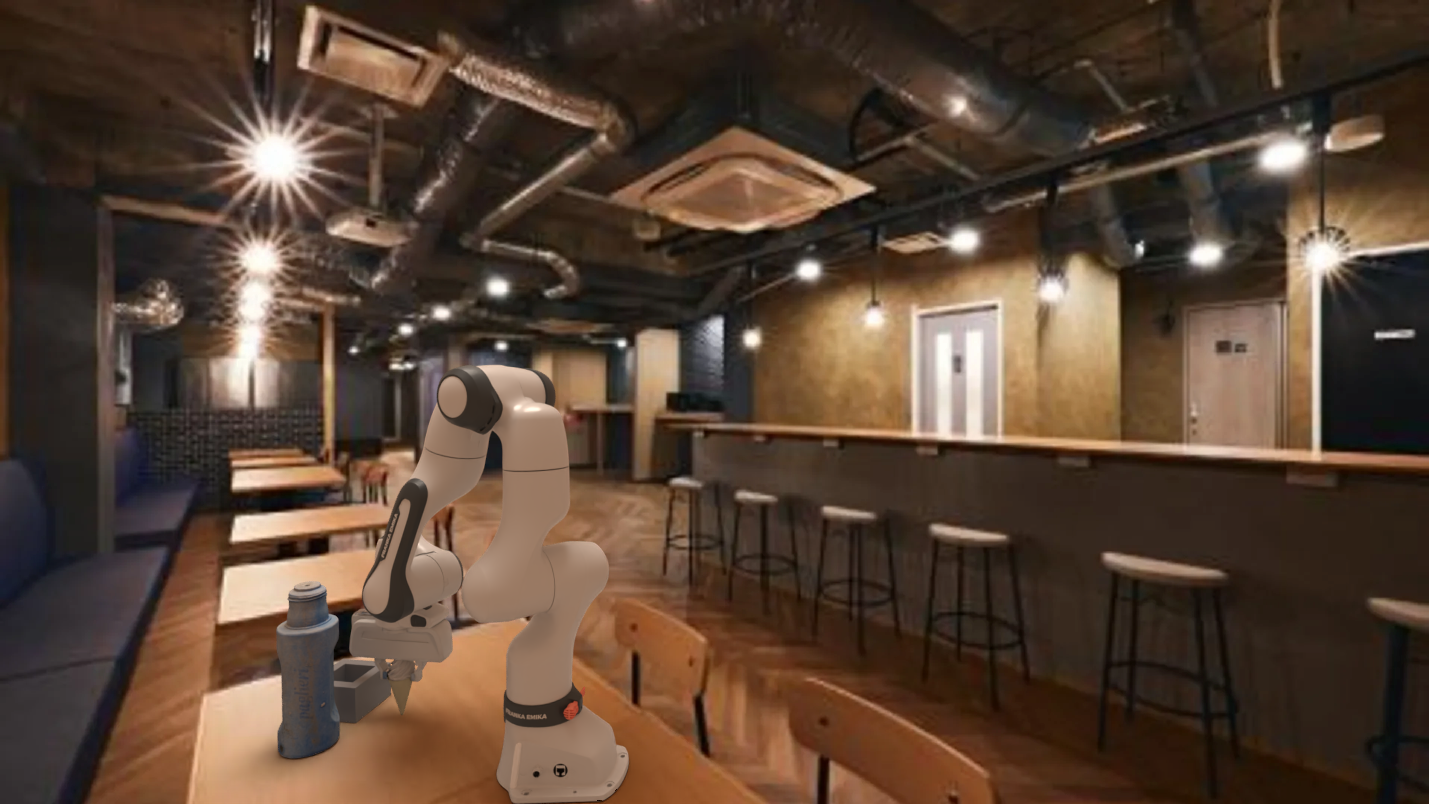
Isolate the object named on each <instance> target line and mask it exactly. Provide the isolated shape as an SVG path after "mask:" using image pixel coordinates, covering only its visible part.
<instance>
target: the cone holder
mask: <svg viewBox="0 0 1429 804" xmlns="http://www.w3.org/2000/svg"><path fill="white" fill-rule="evenodd" d="M386 662H387V664H388V666H389V667H390V666H391V665H392V664H390V663H391V662H392V661H391V662H389V661H386ZM391 695H392V689H391V686H390V683H389V680H386V679H381V678H380V671H379V669H378V668H377V666H376V665H375V662H374V660H364V659H350V658H348V659H347V658H342V659H341V660H339V661H338V662H336V663H334V700H335V704H336V707H337V710H338V713H339V717H340V723H350V724H351V723H352V724H357V723H358V722H359V721H360V720H362V719H363V718H364V717H366V715H368V714H369V713H370V712H371V711H373V710H374V709H375V708H377V707H378V706H379V705H380V704H381V703H383V702H384V701H385V700H386V699H388V698H389V697H390V696H391Z"/></svg>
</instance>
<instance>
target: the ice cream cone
mask: <svg viewBox="0 0 1429 804" xmlns="http://www.w3.org/2000/svg"><path fill="white" fill-rule="evenodd" d="M392 660H393V661H391V663H390V664H391V666H390V667H389V668H388V669H389V670H391V671H390V672H389V673H388V677H387V679H388V680H389V683H390V686H391V692H392V694H393V696H394V700H395V702H396V705H397V708H398V711H399V714H400V715H401V716H403V715H404V714H405V710H406V706H407V703H408V699H409V696H410V692H411V689H412V684H413V681H411V680H410V679H411V677H410V673H412V672H414V670H416V665H415V661H408V660H394V659H392Z"/></svg>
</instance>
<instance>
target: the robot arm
mask: <svg viewBox="0 0 1429 804" xmlns="http://www.w3.org/2000/svg"><path fill="white" fill-rule="evenodd" d="M556 397H557V396H556V389H555V385H554V383H553V382H552V380H551V379H550V377H549V376H548V375H547V374H545V373H544V372H542V371H540V370H537V369H533V368H529V367H523V368H520V367H513V366H506V365H501V364H487V365H485V364H484V365H473V364H468V365H462V366H458V367H454V368H452V369H449V370H448V371H446V372H445V373H444V374H443V375H442V377H441V378H440V380H439V382H438V385H437V390H436V404H435V406H434V408H433V411H432V414H431V416H430V418H429V423H428V426H427V429H426V434H425V438H424V443H423V448H422V451H421V455H420V457H419V461H418V463H417V465H416V467H415V469H414V471H413V472H412V473H411V476H410V478H408V480H407V481H406V482H405V483H404V484H403V485H402V487H401V488H400V490H399V492H398V494H397V496H396V499H395V500H394V505H393V507H392V509H391V513H390V515H389V518H388V522H387V525H386V528H385V530H384V533H383V535H382V536H381V537H380V538H378V540H377V543H376V547H375V551H374V563H373V564H372V567H371V569H370V570H369V572H368V574H367V576H366V578H365V580H364V582H363V586H362V590H361V591H362V592H361V601H362V605H363V607H364V608H360V609H358V610H356V611H354V612H353V614H352V615H351V632H350V637H349V648H348V649H349V653H350V655H351V656H352V657H354V658H367V659H368V658H369V659H374V660H373V661H374V662H375V665H376V666H377V668H378V669H379V671H380V678H381V679H386V680H388V679H387V677H388V673H389V672H390V671H391V670H389V669H388V668H389V666H388V664H387V662H388V661H387V660H408V661H414V662H415V667H417V668H415V670H414V672H412V673H410V677H411V679H410V680H411V681H412V683H419V682H420V681H421V680H422V679H423V670H424V669H425V666H426V665H427V663H437V664H438V663H442V662H444V661H445V660H447V658H449V657H450V656H451V654H452V653H453V650H454V649H453V631H452V625H451V624H450V622H449V621H448V619H447V617H448V616H449V612H450V611H449V610H450V609H449V607H448V606H447V605H445V604H443V603H440V602H441V601H444V600H446V599H448V598H450V597H452V596H453V595H455V594H457V593H458V592H459V590H460V589H461V591H460V592H461V601H462V604H463V607H464V609H465V610H466V613H467V614H468V615H469V616H470V617H471V618H472V619H473V620H475V621H476V622H478V623H479V624H493V623H507V622H512V621H517V620H519V619H520V620H521V619H524V618H527V617H531V616H532V617H531V618H530V620H529V622H528V623H527V625H525V626H524V628H523V629H522V630H521V631H519V632H518V633H517V634H516V635H515V636H514V637H513V638H512V640H511V641H510V643H509V644H508V647H507V650H506V655H505V660H506V662H505V663H506V664H505V665H506V666H505V673H506V674H505V675H506V676H505V677H506V681H505V684H506V685H505V690H504V693H503V704H502V705H503V707H502V709H503V710H502V711H503V722H504V724H505V725H504V736H503V744H502V748H501V749H502V750H501V755H500V759H499V763H498V766H497V770H496V779H497V781H498V783H499V784H500V786H502V788H504V789H505V790H506V791H507V792H508V795H509V799H510V801H511V803H513V804H542V803H543V804H544V803H546V804H549V803H576V802H577V803H578V802H582V803H583V802H598V801H597V800H602V801H605V800H606V799H608V798H609V797H611V796H612V795H613V794H614V793H615V792H616V791H617V790H618V789H619V788H620V786H621V785H622V783H623V781H624V780H625V777H626V775H627V772H628V771H629V770H628V769H629V763H630V760H629V752H628V750H627V748H626V747H625V746H623V745H619V744H617V743H616V737H615V733H614V730H613V727H612V725H611V724H610V723H608V722H607V721H606V720H604V719H603V718H601V717H600V716H599V715H597V714H596V713H594V712H593V711H592V710H590V708H588V707H587V706H586V705H584V704H583V703H584V702H583V699H584V697H585V695H586V687H585V686H583V687H582V689H581V690H579V689H577V687H576V686H575V684H574V682H573V658H574V657H573V656H574V646H575V640H576V636H577V632H578V630H579V628H580V625H581V623H582V620H583V618H584V616H585V615H586V612H587V611H588V609H589V607H590V605H591V604H593V601H594V600H595V599H596V598H597V597H598V596H599V594H600V593H602V592H603V590H605V588H606V585H607V583H608V581H609V575H610V574H609V573H610V565H609V560H608V557H607V556H606V554H605V551H603V549H602V547H600V546H599V545H598V544H597V543H596V542H594V541H585V540H584V541H583V540H578V541H576V540H569V541H562V542H557V543H553V544H547V545H543V544H544V541H545V539H546V537H547V535H548V534H549V532H550V531H551V530H552V529H553V528H554V527H555V526H557V525H558V524H559V523H560V522H562V521H563V520H564V518H566V516H567V514H568V512H569V511H570V507H571V489H570V487H571V486H570V485H571V484H570V483H571V482H570V481H571V480H570V479H571V478H570V460H569V459H570V458H569V455H570V454H569V446H568V439H567V433H566V432H567V431H566V428H565V422H564V419H563V416H562V414H561V412H560V411H559V410H558V409H557V408H556V407H555V404H556ZM492 432H494V433H495V434H496V435H497V436H498V438H499V440H500V442H501V448H502V503H501V504H502V505H501V515H500V520H499V524H498V526H497V530H496V532H495V534H494V536H493V538H492V540H491V542H490V544H489V545H488V546H487V548H486V550H485V551H484V553H483V554H482V555H481V556H480V557H479V558H478V559H477V560H476V561H475V562H474V563H473V564H471V565H470V567H469V569H467V571H466V573H465V574H464V568H463V564H462V562H461V559H460V558H459V557H458V555H456V554H455V553H454V552H452V551H451V550H450V549H449V550H448V549H442V548H440V547H438V546H435V545H434V544H432V543H431V542H429V541H428V540H427V539H425V537H424V536H423V534H422V533H423V531H424V529H425V527H426V525H427V524H428V523H429V521H430V520H431V519H432V518H433V517H434V516H435V515H436V514H437V513H439V512H441V510H442V509H445V507H447V506H449V505H450V504H452V503H453V502H455V501H457V500H459V499H460V498H463V496H465V495H467V494H468V493H470V492H471V491H472V490H473V489H474V488H475V487H476V486H477V484H478V483H479V481H480V479H481V477H482V474H483V473H484V469H485V464H486V458H487V454H488V448H489V443H490V442H489V441H490V437H491V434H492ZM616 789H617V790H616ZM615 790H616V791H615Z"/></svg>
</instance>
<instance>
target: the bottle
mask: <svg viewBox="0 0 1429 804" xmlns="http://www.w3.org/2000/svg"><path fill="white" fill-rule="evenodd" d="M327 592H328V591H327V587H326V586H325V585H322V583H321V582H320V581H313V580H312V581H305V582H300V583H297V584H294V586H293V588H292V589H291V590H289V591H288V595H287V600H288V610H287V616H286V620H285V621H283V622H282V623H280V624H278V626H277V627H276V631H275V632H276V652H277V656H278V659H279V660H278V661H279V665H280V670H281V671H280V673H281V674H280V675H281V678H280V679H281V719H282V720H281V723H280V725H279V727H278V729H277V740H276V741H277V752H278V753H279V754H280V756H282V757H284V758H287V759H300V758H307V757H312V756H314V755H318V754H320V753H322V752H325V751H326V750H328V749H329V748H331V747H332V746H333V745H335V744H336V742H337V741H338V740H339V738H340V731H341V730H340V728H341V727H340V725H341V722H340V717H339V713H338V710H337V707H336V704H335V700H334V664H335V663H334V660H335V659H334V657H335V656H334V655H335V654H334V652H335V651H334V649H335V647H336V646H337V642H338V641H339V638H340V636H339V635H340V628H339V625H340V624H339V623H340V620H339V618H338V617H337V616H336V615H334V614H331V613H329V608H328V607H329V606H328V602H327V596H328V593H327Z"/></svg>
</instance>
